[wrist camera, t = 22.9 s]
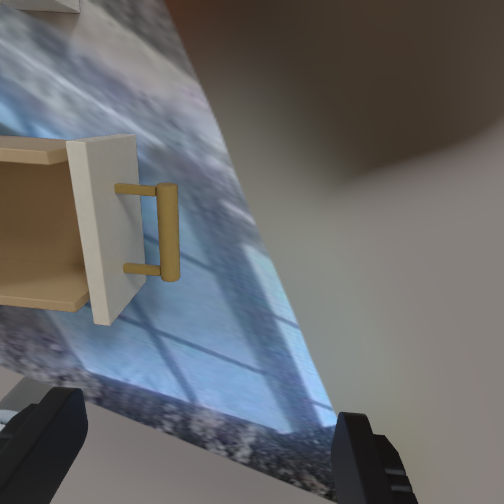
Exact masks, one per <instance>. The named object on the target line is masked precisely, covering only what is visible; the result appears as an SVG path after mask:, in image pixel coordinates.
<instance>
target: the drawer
mask: <svg viewBox="0 0 504 504" xmlns="http://www.w3.org/2000/svg"><path fill="white" fill-rule="evenodd" d="M140 195H144V196H156V197H157V215H158V232H159V250H160V266H158V265H147V264H145V252H144V238H143V225H142V212H141V199H140ZM146 275H153V276H160V275H161V279H162V280H163V281H166V282H174V281H177V280H179V278H180V250H179V217H178V186H177V185H176V184H174V183H159V184H157V185H156V186H149V185H139V173H138V160H137V147H136V135H132V134H114V135H106V136H98V137H90V138H82V139H74V140H61V139H48V138H34V137H20V136H7V135H0V305H8V306H18V307H27V308H37V309H46V310H56V311H66V312H77V311H78V310H79V309H80V308H81V307H82V306H83V305H84V304H86V303H87V302H88V301H89V300H91V306H92V313H93V319H94V324H96V325H106V326H110V325H111V324H112V323H113V322H114V321H115V319H116V318H117V317H118V316H119V314H120V313H121V312H122V311H123V309H124V308H125V307H126V306H127V305H128V303H129V302H130V301H131V300H132V298H133V297H134V296H135V295H136V293H137V292H138V291H139V290H140V289H141V287H142V286H143V285H144V284H145V282H146V281H147V278H146Z"/></svg>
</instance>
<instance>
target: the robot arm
mask: <svg viewBox="0 0 504 504" xmlns="http://www.w3.org/2000/svg"><path fill="white" fill-rule="evenodd" d="M87 431H88V420H87V414H86V408H85V402H84V396H83V392H82V390H81V389H79V388H68V387H53V388H52V389H51V390H50V391H49V392H48V393H47V394H46V395H45V397H44V398H43V399H42V400H41V402H40V403H39V404H30V405H29V406H28V407H26V408H25V409H23V410H22V411H21V412H19V413H18V414H16V415H15V416H14V417H12V418H11V420H10V421H9V422H8V423H7V424H6V425H5V426H4V428H3V429H2V430H1V431H0V504H49V503H50V502H51V500H52V498H53V496H54V495H55V493H56V491H57V489H58V488H59V486H60V484H61V482H62V481H63V479H64V477H65V475H66V474H67V472H68V470H69V468H70V467H71V465H72V463H73V461H74V460H75V458H76V456H77V455H78V453H79V451H80V449H81V448H82V446H83V444H84V441H85V438H86V435H87ZM331 465H332V472H333V477H334V483H335V488H336V493H337V499H338V504H418V502H417V499H416V497H415V494H414V493H413V491H412V486H411V484H410V481H409V479H408V476H406V471H405V469H404V466H403V464H402V461H401V459H400V456H399V453H398V452H397V450H396V449H395V448H394V447H393V445H392V444H391V443H390V442H389V440H388V439H387V438H386V437H385V435H376V434H373V432H372V429H371V426H370V423H369V420H368V418H367V416H366V415H365V414H360V413H348V412H340V413H339V415H338V419H337V424H336V428H335V433H334V437H333V442H332V447H331Z"/></svg>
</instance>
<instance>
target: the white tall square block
mask: <svg viewBox="0 0 504 504" xmlns="http://www.w3.org/2000/svg"><path fill="white" fill-rule="evenodd" d="M0 3H2V4H4V5H7V6H9V7H12V8H14V9H17V10H34V11H51V12H68V13H80V5H79V0H0Z"/></svg>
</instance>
